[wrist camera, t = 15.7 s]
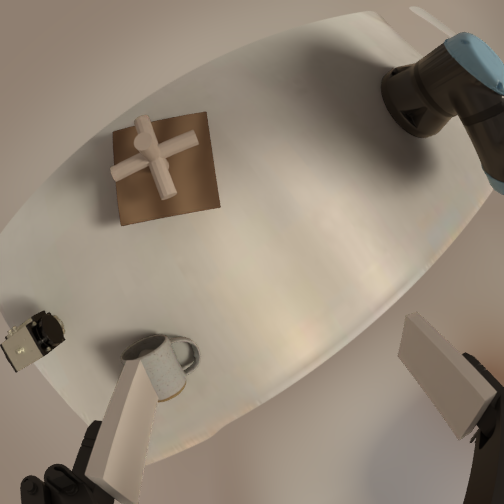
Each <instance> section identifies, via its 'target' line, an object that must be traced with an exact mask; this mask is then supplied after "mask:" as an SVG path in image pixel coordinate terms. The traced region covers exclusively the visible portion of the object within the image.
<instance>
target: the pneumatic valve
mask: <svg viewBox="0 0 504 504" xmlns="http://www.w3.org/2000/svg"><path fill="white" fill-rule="evenodd" d="M12 330H14V331H12ZM8 333H10V334H9V335H7V336H6V337H5V338H6V341H5V342H3V343H2V344H1V345H0V346H1V348H2V350H3V352H4V354H5V356H6V358H7V360H8V362H9V363H10V364H11V366H12V367H13V369H14V370H15V372H18V371H20V370H21V369H23V368H25V367H26V366H28V365H30V364H31V363H33V362H35V361H37V360H38V359H40V358H42V357H43V356H45V355H47V354H48V353H49V352H50V351H52V350H53V349H54V348H55V347H57V346H58V345H59V344H60V343H62V342H63V341H64V340H65V338H64V335H63V334H65V330H64V325H63V323H62V321H61V320H60V319H58V317H57V316H52V315H51V313H50V312H49V313H47V314H46V313H45V311H42V312H40V313H38V314H36V315H34V316H32V317H31V318H30V319H28V320H27V321H26V322H24V323H23V324H22V325H20V326H19V327H18V328H17V327H16V326H14V327H13V328H12V329H11V330H9V331H8Z"/></svg>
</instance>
